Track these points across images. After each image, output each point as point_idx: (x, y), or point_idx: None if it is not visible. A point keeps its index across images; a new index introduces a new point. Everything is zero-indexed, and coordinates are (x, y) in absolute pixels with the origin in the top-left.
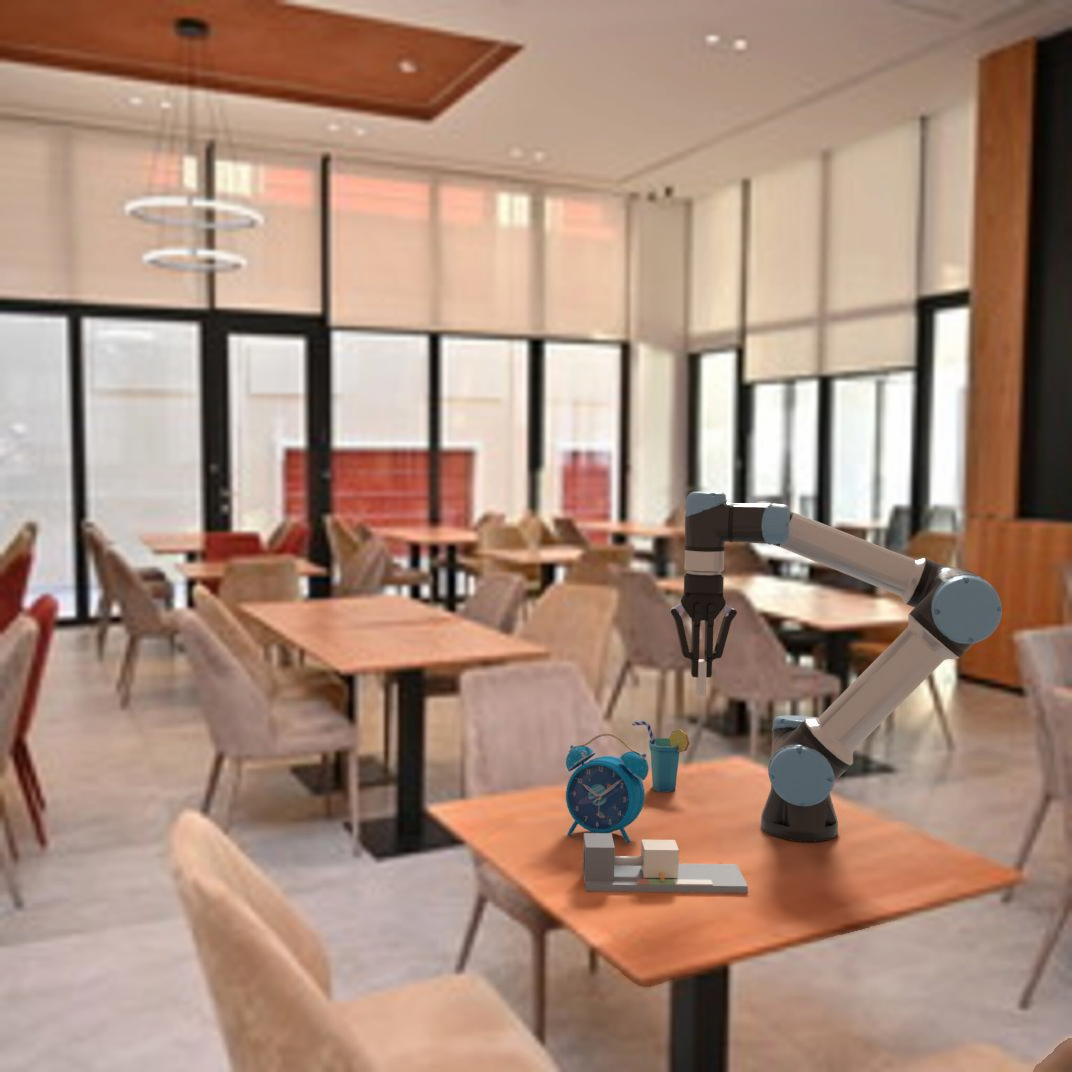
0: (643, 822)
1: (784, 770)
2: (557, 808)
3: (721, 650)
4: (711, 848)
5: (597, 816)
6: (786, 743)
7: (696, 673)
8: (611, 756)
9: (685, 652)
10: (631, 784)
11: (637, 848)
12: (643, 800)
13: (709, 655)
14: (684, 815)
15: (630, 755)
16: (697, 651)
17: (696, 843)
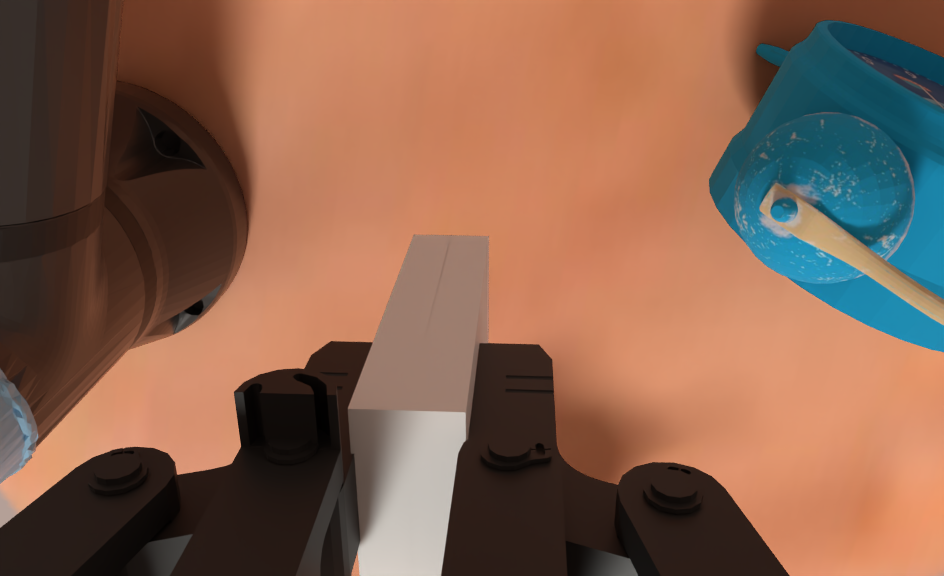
0: (657, 271)
1: None
2: (939, 402)
3: (35, 527)
4: (454, 11)
5: (922, 86)
6: None
7: (496, 366)
8: (908, 325)
9: (703, 524)
10: (832, 89)
11: (737, 3)
12: (715, 177)
13: (278, 479)
14: (498, 338)
15: (871, 189)
16: (480, 529)
17: (502, 63)
